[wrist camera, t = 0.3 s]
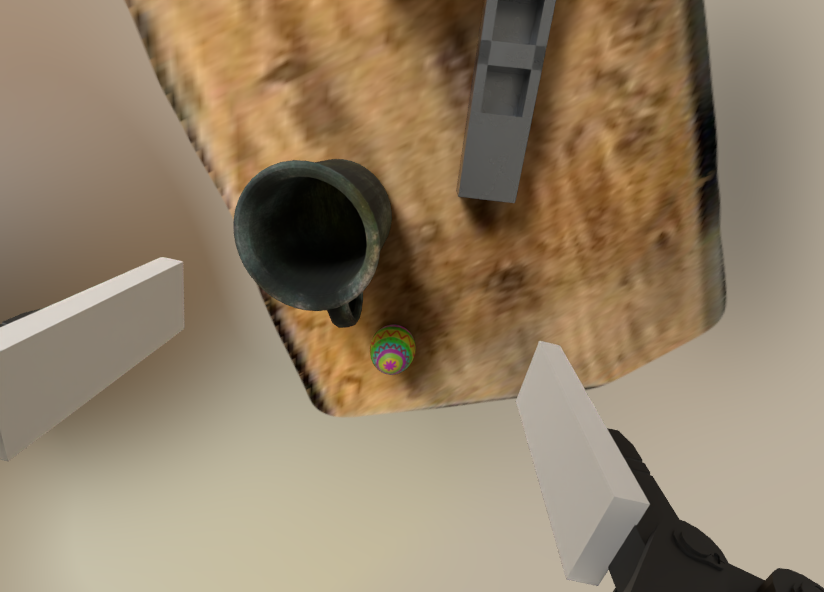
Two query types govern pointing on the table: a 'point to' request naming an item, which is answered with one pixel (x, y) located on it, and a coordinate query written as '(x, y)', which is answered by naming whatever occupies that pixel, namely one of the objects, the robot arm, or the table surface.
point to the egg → (392, 349)
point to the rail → (503, 96)
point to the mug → (314, 234)
